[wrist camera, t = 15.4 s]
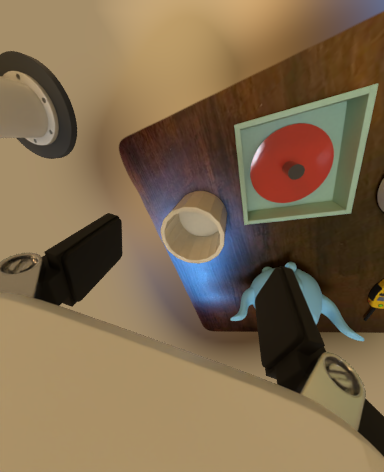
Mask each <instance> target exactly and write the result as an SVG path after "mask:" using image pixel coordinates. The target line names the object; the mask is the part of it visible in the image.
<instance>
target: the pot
mask: <svg viewBox="0 0 384 472" xmlns="http://www.w3.org/2000/svg"><path fill="white" fill-rule="evenodd" d="M226 223H227V212H226V208H225V206H224V204H223V203H222V201H221V200H220V199H219V198H218V197H217V196H215V195H213V194H211V193H209V192H205V191H195V192H191V193H189V194H187V195H185V196H184V197H183V198H182V199H181V200H180V201H179V203H178V204H177V205H176V206H175V207H174V208H173V210H172V211H171V212H170V213H169V214H168V215H167V216H166V218H165V219H164V220H163V224H162V227H161V235H162V241H163V243H164V244H165V246H166V248H167V249H168V251H170V252H171V253H172V254H173V255H174V256H175V257H177V258H179V259H181V260H183V261H186V262H190V263H203V262H208V261H210V260H212V259H213V258H215V257H216V256H218V255H219V253H220V252H221V250H222V248H223V246H224V240H225V232H226Z"/></svg>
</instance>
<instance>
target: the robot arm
mask: <svg viewBox="0 0 384 472" xmlns="http://www.w3.org/2000/svg"><path fill="white" fill-rule="evenodd" d="M58 130H59V124H58V117H57V113H56V110H55V108H54V105H53V103H52V101H51V99H50V98H49V96H48V94H47V93H46V91H45V90H44V89H43V87H42V86H41V85H40V84H39V83H38V82H37V81H36V80H34V79H33V78H32V77H30V76H28V75H27V74H24V73H21V72H18V71H8V72H7V73H5V74H4V75H3V76H2V77H1V76H0V138H25V139H27V140H28V141H30V142H32V143H34V144H37V145H49V144H52V143H53V142H54V141H55V140H56V138H57V135H58ZM121 228H122V227H121V220H120V219H119V217H118V216H116V215H113V214H110V213H108V214H106V215H104V216H103V217H101V218H99V219H98V220H96V221H94V222H93V223H91V224H90V225H88V226H86V227H84V228H83V229H81V230H80V231H78V232H76V233H75V234H73V235H71V236H70V237H68V238H66V239H65V240H63V241H62V242H60V243H58V244H57V245H55V246H53V247H52V248H50V249H48V250H47V251H45V256H43V257H41V256H40V255H38V254H35V253H21V254H16V255H13V256H10V257H8V258H6V259H4V260H3V261H1V262H0V472H384V416H383V415H382V414H380V412H379V411H378V410H376V408H375V407H373V406H372V405H371V404H370V403H369V402H368V401H367V400H366V399H365V397H366V393H365V392H366V391H365V388H364V385H363V383H362V381H361V379H360V377H359V375H358V374H357V373H356V371H355V370H354V369H353V368H352V367H351V366H350V365H349V364H348V363H347V362H346V361H345V360H344V359H342V358H341V357H339V356H338V355H336V354H334V353H330V352H326V351H325V348H324V346H325V345H324V342H323V340H322V338H321V335H320V333H319V330H318V328H317V326H316V323H315V321H314V319H313V316H312V314H311V312H310V309H309V307H308V304H307V302H306V300H305V297H304V295H303V293H302V290H301V288H300V286H299V283H298V281H297V278H296V276H295V274H294V271H293V270H292V269H290V268H287V267H284V266H280V267H279V268H278V267H276V268H275V269H274V270H273V272H272V273H271V275H270V276H269V278H268V279H267V281H266V282H265V284H264V285H263V287H262V288H261V290H260V291H259V293H258V294H257V296H256V298H255V308H256V317H257V326H258V335H259V344H260V352H261V361H262V365H263V367H265V370H266V376H269V377H271V378H274V379H277V384H278V385H277V384H275V383H272V382H269V381H267V380H264V379H261V378H259V377H256V376H254V375H251V374H249V373H246V372H243V371H240V370H238V369H235V368H232V367H229V366H226V365H224V364H221V363H219V362H216V361H213V360H210V359H208V358H204V357H202V356H199V355H196V354H194V353H191V352H188V351H185V350H183V349H180V348H177V347H174V346H172V345H169V344H166V343H163V342H160V341H158V340H155V339H152V338H149V337H146V336H144V335H141V334H137V333H135V332H132V331H130V330H127V329H124V328H121V327H118V326H115V325H113V324H110V323H107V322H104V321H101V320H98V319H95V318H92V317H90V316H87V315H84V314H81V313H78V312H75V311H73V310H70V309H67V308H64V307H61V306H59V305H60V304H61V303H62V302H63V303H64V304H66V305H69V306H73V305H74V304H75V303H76V302H77V301H78V302H79V301H81V300H82V299H83V298H84V297H85V296H86V295H87V294H88V293H89V292H90V290H91V289H92V288H93V287H94V286H95V285H96V284H97V283H98V282H99V281H100V280H101V279H102V278H103V277H104V275H105V274H106V273H107V272H108V271H109V270H110V269H111V268H112V267H113V266H114V265H115V264H116V263H117V262H118V260H119V259H120V258H121V256H122V229H121Z"/></svg>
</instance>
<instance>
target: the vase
mask: <svg viewBox="0 0 384 472" xmlns="http://www.w3.org/2000/svg"><path fill="white" fill-rule="evenodd" d="M377 201H378V204H379V207H380V208H381V210H382V211H383V212H384V178H383V180H382V182H381V184H380V186H379V189H378V194H377Z"/></svg>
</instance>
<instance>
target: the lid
mask: <svg viewBox="0 0 384 472" xmlns="http://www.w3.org/2000/svg"><path fill="white" fill-rule="evenodd" d="M333 159H334V148H333V144H332V141H331V139H330V137H329V136H328V135H327V133H326V132H325V131H323V130H322V129H321V128H319V127H317V126H315V125H312V124H306V123H297V124H291V125H288V126H285V127H282V128H280V129H278V130H276V131H275V132H273V133H272V134H270V135H269V136H268V137H267V138H266V139H265V140H264V141H263V142H262V143H261V144H260V146H259V147H258V148H257V150H256V152H255V154H254V156H253V158H252V162H251V166H250V178H251V182H252V185H253V187H254V189H255V190H256V192H257V193H258V194H259V195H260V196H261V197H263V198H264V199H266V200H268V201H271V202H275V203H289V202H294V201H297V200H300V199H302V198H304V197H306V196H308V195H309V194H311V193H312V192H314V191H315V190H316V189H317V188H318V187H319V186H320V185H321V184H322V183H323V182H324V180H325V179H326V178H327V176H328V174H329V172H330V170H331V167H332V164H333Z"/></svg>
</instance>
